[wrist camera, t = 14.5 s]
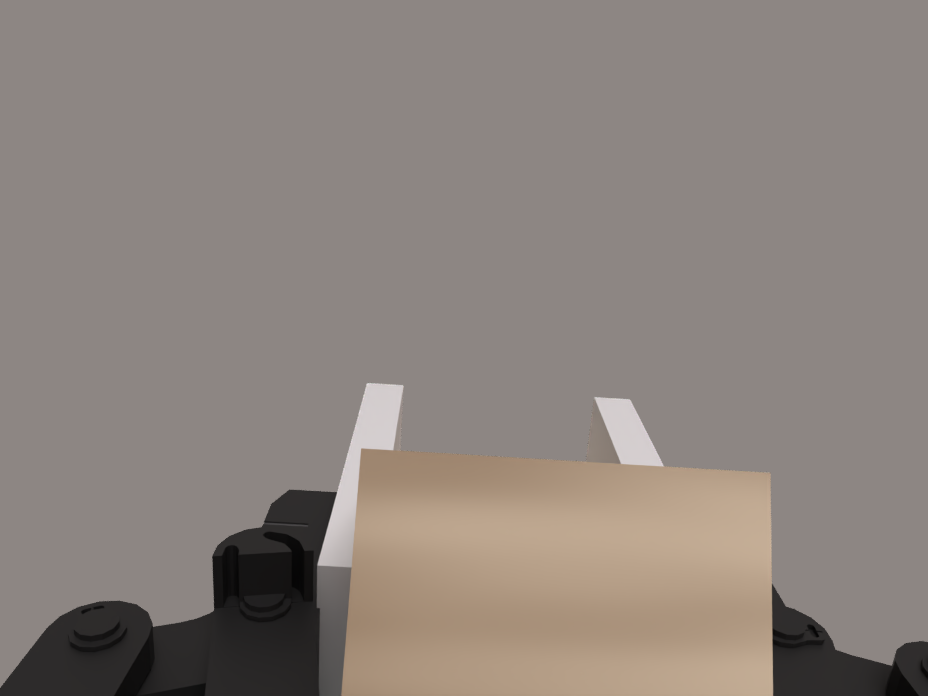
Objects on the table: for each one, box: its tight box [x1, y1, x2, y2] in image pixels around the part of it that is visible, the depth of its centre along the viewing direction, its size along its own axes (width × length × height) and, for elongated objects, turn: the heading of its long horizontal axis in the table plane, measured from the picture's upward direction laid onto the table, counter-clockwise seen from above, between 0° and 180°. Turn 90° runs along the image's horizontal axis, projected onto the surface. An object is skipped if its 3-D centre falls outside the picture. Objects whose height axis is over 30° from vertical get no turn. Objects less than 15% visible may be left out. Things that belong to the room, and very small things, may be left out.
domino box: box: [341, 448, 773, 696], centre depth 20 cm, size 26×4×4 cm, turn 2°
